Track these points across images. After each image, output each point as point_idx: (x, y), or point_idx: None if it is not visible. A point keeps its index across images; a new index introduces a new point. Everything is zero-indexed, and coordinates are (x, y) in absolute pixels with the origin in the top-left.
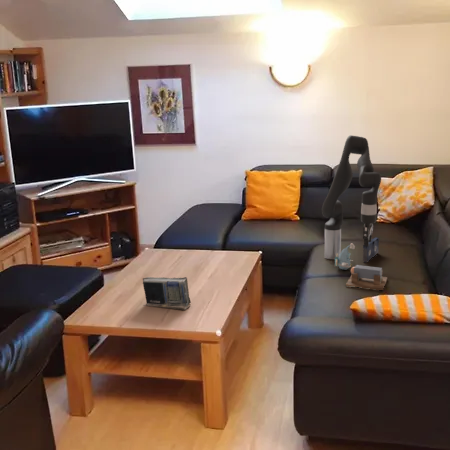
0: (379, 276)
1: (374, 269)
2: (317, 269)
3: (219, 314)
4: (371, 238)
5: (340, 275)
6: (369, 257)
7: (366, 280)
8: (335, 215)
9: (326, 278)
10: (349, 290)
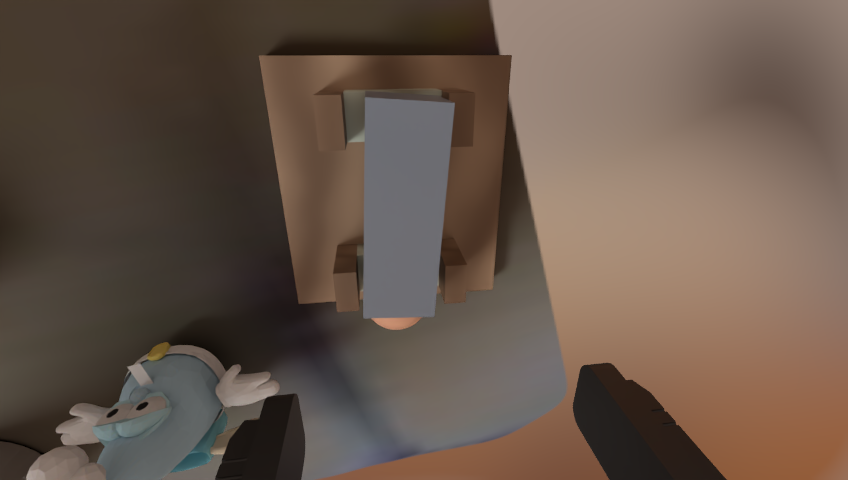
0: (473, 97)
1: (434, 159)
2: None
3: None
4: (268, 447)
5: (311, 351)
6: None
7: None
8: None
9: (387, 393)
10: (535, 251)
